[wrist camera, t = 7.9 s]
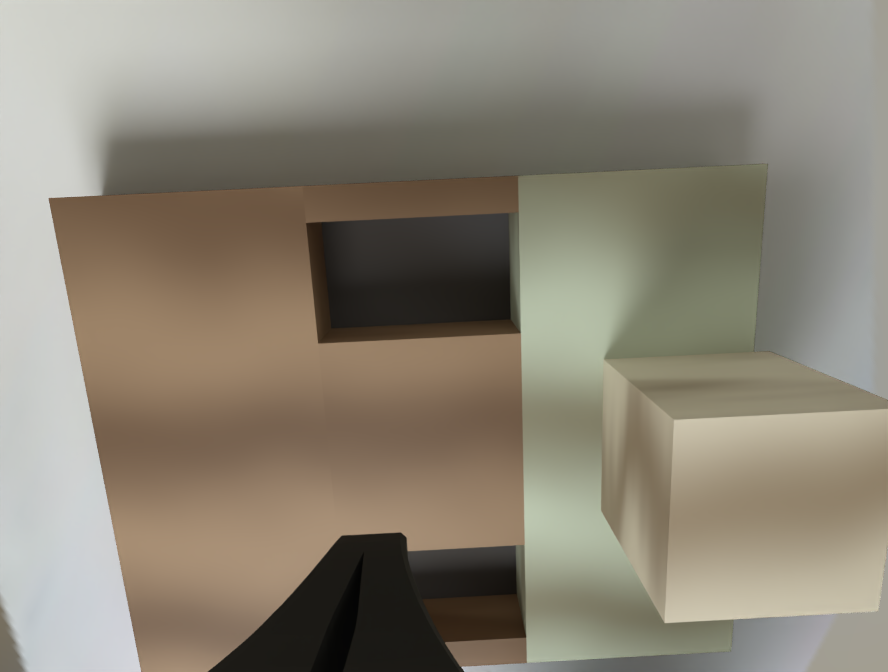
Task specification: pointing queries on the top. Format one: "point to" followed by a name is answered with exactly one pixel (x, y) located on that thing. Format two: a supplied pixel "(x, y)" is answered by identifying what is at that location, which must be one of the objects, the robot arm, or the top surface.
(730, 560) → the cream block
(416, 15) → the top surface
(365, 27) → the top surface
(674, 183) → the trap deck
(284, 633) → the robot arm
